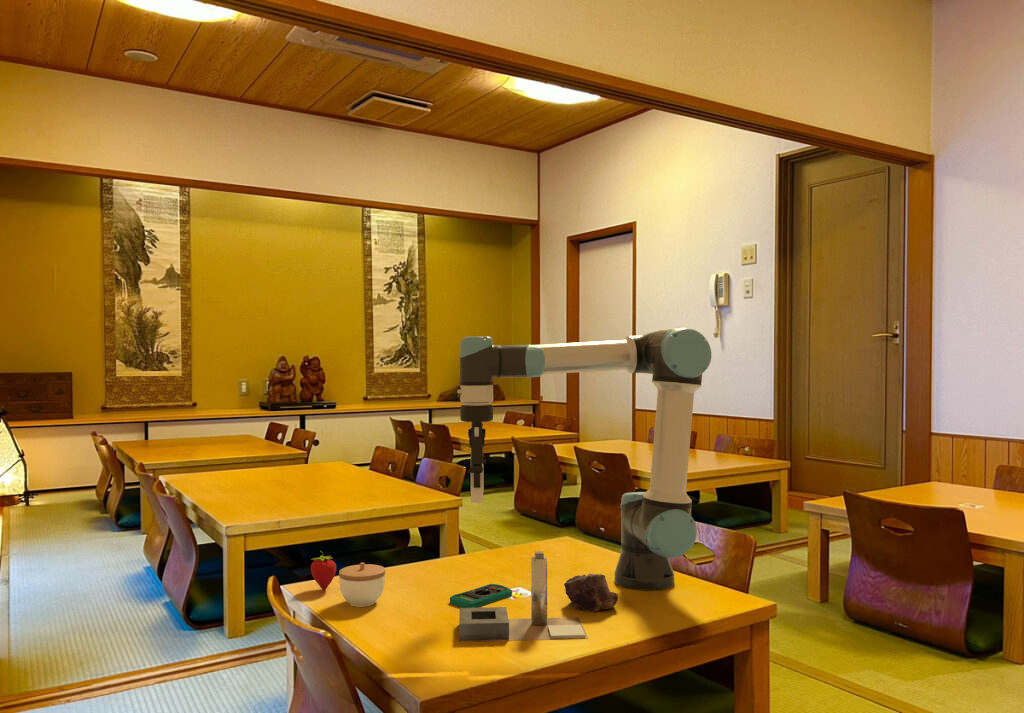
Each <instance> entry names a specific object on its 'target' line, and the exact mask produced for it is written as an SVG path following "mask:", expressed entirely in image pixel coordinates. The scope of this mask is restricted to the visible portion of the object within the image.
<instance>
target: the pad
mask: <svg viewBox="0 0 1024 713" xmlns="http://www.w3.org/2000/svg"><path fill="white" fill-rule="evenodd" d="M582 626H583V625H582ZM582 626H581V625H549V626H548V630H549V634H550V637H551V639H557V638H585V633H584V631H583V628H584V627H583V628H582Z"/></svg>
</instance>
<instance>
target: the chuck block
mask: <svg viewBox="0 0 1024 713" xmlns="http://www.w3.org/2000/svg"><path fill="white" fill-rule="evenodd" d="M508 619H509V615H508V610H507V606H502V607H501V606H495V607H492V606H491V607H490V606H489V607H488V606H487V607H477V608H462V607H459V621H458V622H459V624H458V627H459V628H458V629H459V630H458V632H459V633H458V636H459V637H458V639H459V640H458V641H477V640H509V620H508Z"/></svg>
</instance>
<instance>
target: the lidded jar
mask: <svg viewBox="0 0 1024 713" xmlns="http://www.w3.org/2000/svg"><path fill="white" fill-rule="evenodd" d="M338 577H339V588H340V593H341V595H342V597H343V599H344V600H345V601H346V603H347V602H348V604H350V605H351V607H354V606H355V607H354V608H363V607H365V608H366V607H370V606H373V605H375V604H376V601H378V600H379V598H380V597H381V595H382V594H383V591H384V589H385V582H386V580H385V578H386V567H384V566H383V565H377V564H372V563H371V564H366V563H365V562H360V563H359V564H354V565H353V564H352V565H349V566H345V567H343V568H341V569H340V570H339V572H338ZM350 605H349V606H350Z"/></svg>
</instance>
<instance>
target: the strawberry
mask: <svg viewBox="0 0 1024 713" xmlns="http://www.w3.org/2000/svg"><path fill="white" fill-rule="evenodd" d="M319 551H320V552H321V553H322V555H320V556H319V557H315V558H314V557H313V558H311V559H310V561H312V560H313V562H312V563H311V565H310V572H311V576H312V578H313V579H314V581H315V582H316V583H317V585H319V588H320V589H321V590H322V591H325V590H326V589H328V588H329V586H330V585H331V583H332V581H333V579H335V576H336V571H337V564H336V562H334V560H332V559H333V557H332V556H331V555H327V556H324V553H323V552H322V550H319Z"/></svg>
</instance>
